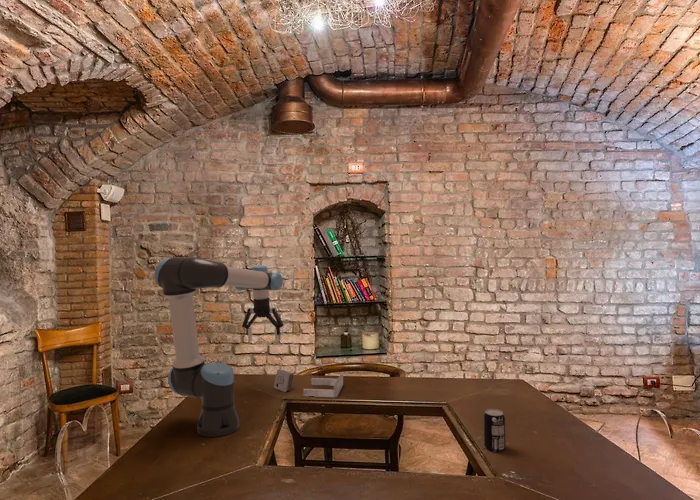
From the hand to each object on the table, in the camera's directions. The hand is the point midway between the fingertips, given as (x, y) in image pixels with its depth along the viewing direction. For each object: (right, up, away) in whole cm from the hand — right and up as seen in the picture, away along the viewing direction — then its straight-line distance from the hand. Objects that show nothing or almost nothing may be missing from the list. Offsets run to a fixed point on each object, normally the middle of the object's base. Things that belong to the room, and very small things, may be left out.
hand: (263, 341), depth 210 cm
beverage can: (+90, -22, -65) cm, 113 cm away
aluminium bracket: (+29, -22, -4) cm, 36 cm away
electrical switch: (+10, -23, -1) cm, 25 cm away
